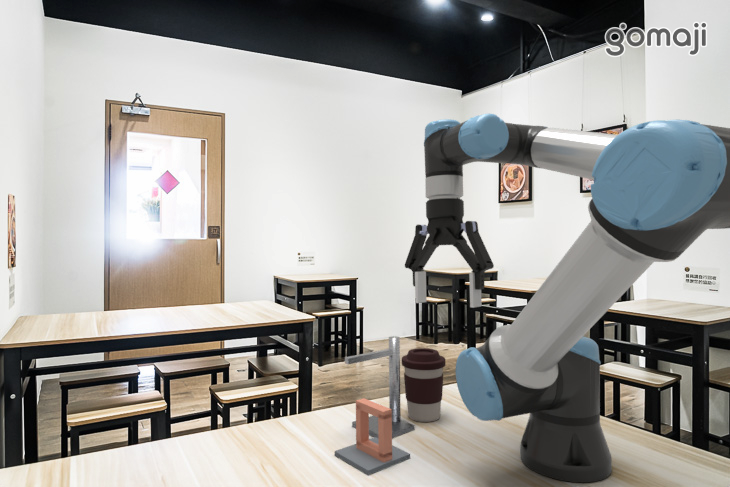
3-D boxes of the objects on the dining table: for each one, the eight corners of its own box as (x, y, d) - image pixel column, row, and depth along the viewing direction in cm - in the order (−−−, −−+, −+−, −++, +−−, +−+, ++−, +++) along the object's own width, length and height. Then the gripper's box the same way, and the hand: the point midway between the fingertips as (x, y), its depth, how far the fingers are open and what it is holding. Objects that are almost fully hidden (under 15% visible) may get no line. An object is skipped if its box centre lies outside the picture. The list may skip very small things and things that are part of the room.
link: (392, 459, 86) (391, 409, 86) (383, 462, 85) (383, 411, 85) (364, 444, 92) (363, 398, 92) (356, 447, 91) (355, 400, 91)
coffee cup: (444, 409, 113) (443, 346, 113) (447, 425, 103) (446, 356, 103) (402, 408, 114) (401, 346, 114) (401, 424, 104) (400, 356, 104)
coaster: (410, 458, 88) (410, 453, 88) (368, 475, 82) (368, 470, 82) (375, 441, 96) (375, 437, 96) (334, 455, 90) (334, 451, 90)
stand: (415, 429, 101) (414, 340, 101) (362, 448, 93) (361, 350, 93) (384, 416, 109) (383, 333, 109) (333, 432, 100) (332, 342, 100)
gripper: (510, 194, 90) (513, 307, 89) (410, 205, 108) (412, 299, 108) (488, 191, 85) (491, 311, 84) (387, 203, 103) (389, 302, 103)
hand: (447, 304), depth 96 cm, fingers open, 13 cm apart
